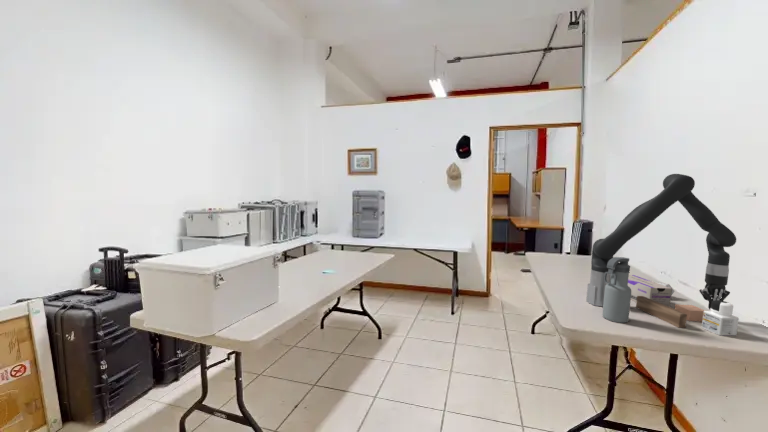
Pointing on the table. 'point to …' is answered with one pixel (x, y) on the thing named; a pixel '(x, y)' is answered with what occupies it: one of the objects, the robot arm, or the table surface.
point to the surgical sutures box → (649, 290)
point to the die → (667, 286)
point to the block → (691, 312)
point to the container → (720, 319)
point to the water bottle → (617, 291)
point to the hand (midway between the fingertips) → (712, 309)
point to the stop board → (662, 311)
